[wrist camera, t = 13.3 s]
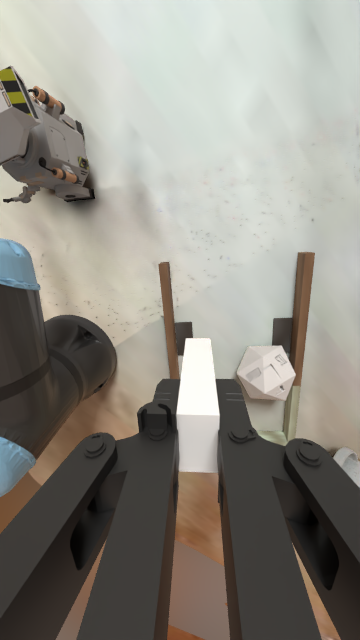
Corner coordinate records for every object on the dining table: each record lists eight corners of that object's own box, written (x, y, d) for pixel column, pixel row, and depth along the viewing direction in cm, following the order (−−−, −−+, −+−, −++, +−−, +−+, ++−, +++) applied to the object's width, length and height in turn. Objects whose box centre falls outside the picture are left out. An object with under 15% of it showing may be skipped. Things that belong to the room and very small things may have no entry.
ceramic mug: (333, 458, 47) (375, 497, 42) (306, 483, 44) (347, 529, 39) (352, 434, 40) (405, 478, 35) (322, 463, 38) (373, 515, 32)
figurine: (15, 136, 32) (-134, 54, 18) (93, 123, 31) (-1, 24, 16) (34, 208, 35) (-81, 187, 21) (106, 199, 33) (36, 170, 19)
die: (275, 326, 35) (321, 386, 32) (264, 338, 43) (299, 386, 40) (227, 355, 35) (268, 418, 31) (225, 362, 43) (257, 412, 40)
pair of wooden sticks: (178, 434, 47) (177, 445, 44) (161, 262, 36) (158, 264, 33) (289, 436, 44) (294, 447, 42) (306, 251, 33) (314, 252, 31)
